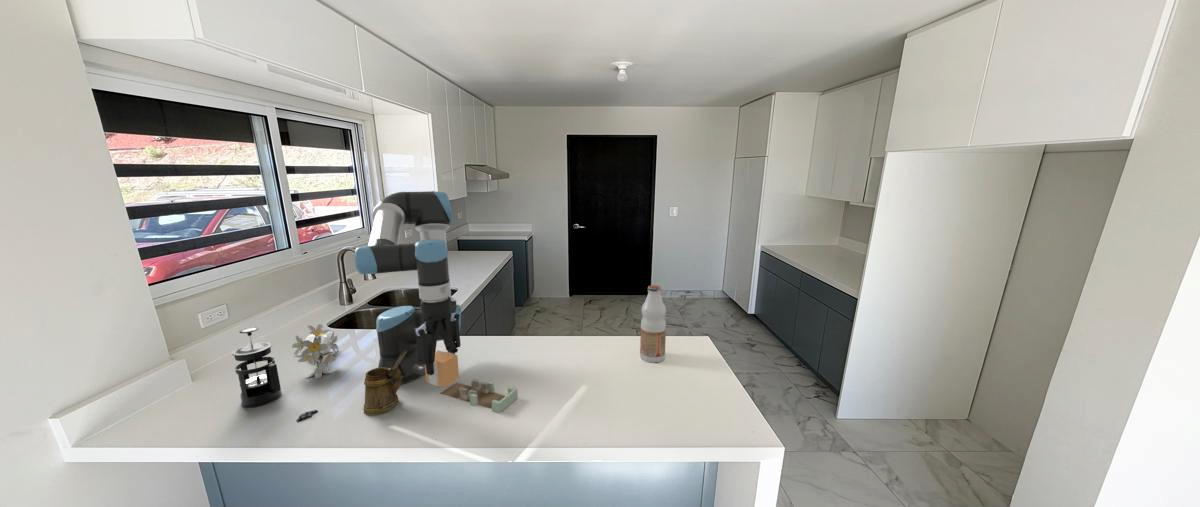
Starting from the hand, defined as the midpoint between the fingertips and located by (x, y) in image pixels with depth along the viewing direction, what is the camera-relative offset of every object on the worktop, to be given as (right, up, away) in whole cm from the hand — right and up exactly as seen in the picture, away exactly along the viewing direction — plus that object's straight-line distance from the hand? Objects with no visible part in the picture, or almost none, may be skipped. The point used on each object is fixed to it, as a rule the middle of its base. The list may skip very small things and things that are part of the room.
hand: (442, 378), depth 104 cm
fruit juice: (+64, -5, +40) cm, 75 cm away
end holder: (+11, -10, +10) cm, 18 cm away
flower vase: (-60, -6, +35) cm, 69 cm away
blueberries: (-40, -13, +4) cm, 43 cm away
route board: (+6, -10, +13) cm, 17 cm away
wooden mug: (-20, -11, +9) cm, 25 cm away
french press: (-61, -11, +13) cm, 63 cm away
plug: (-3, 0, +1) cm, 4 cm away
